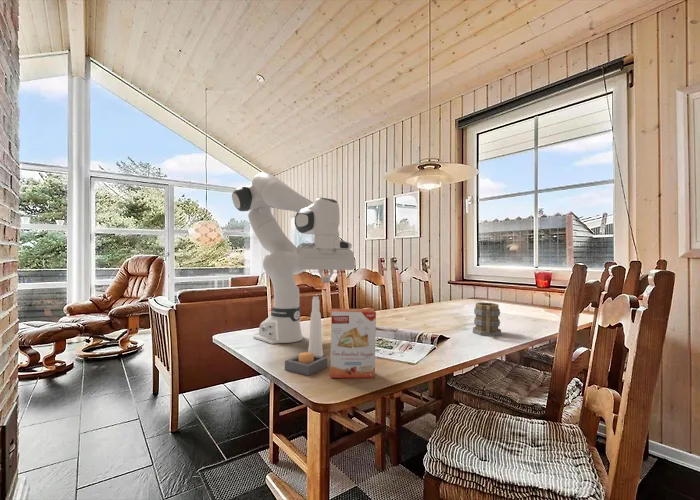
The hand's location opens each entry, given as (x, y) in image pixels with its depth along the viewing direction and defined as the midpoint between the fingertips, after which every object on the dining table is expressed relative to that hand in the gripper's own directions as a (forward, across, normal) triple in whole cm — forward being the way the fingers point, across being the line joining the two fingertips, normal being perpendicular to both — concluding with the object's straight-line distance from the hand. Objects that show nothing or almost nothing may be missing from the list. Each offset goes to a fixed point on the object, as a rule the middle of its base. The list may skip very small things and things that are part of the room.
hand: (325, 282), depth 126 cm
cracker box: (+28, +8, -15) cm, 33 cm away
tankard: (+28, +79, +30) cm, 89 cm away
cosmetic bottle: (+28, -3, +7) cm, 29 cm away
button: (+27, -7, -7) cm, 29 cm away
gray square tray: (+28, -6, -7) cm, 30 cm away
